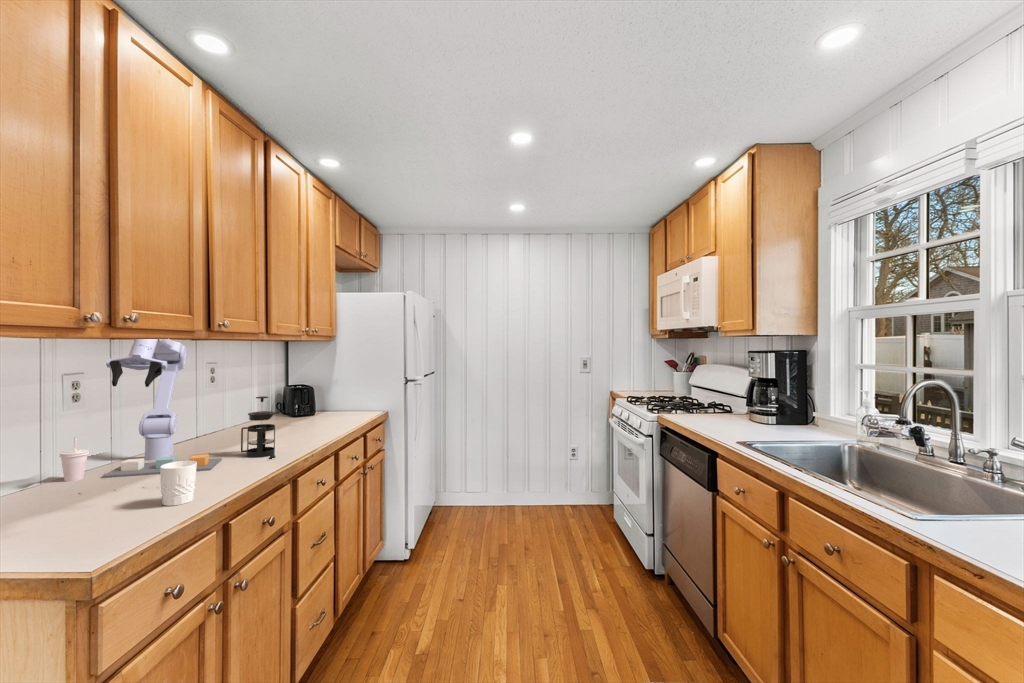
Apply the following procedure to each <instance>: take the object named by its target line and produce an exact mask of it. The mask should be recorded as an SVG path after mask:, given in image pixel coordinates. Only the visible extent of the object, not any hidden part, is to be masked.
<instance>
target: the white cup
mask: <svg viewBox="0 0 1024 683" xmlns="http://www.w3.org/2000/svg"><path fill="white" fill-rule="evenodd" d="M196 468H197V462H196V461H183V460H177V462H171V463H167V464H164V465H162V466H160V474H159V475H160V493H161V504H162V505H163V506H165V505H166V506H167V507H174V506H182V505H185V504H189V503H190V502H193V500H194V498H195V488H196V480H197V471H196Z"/></svg>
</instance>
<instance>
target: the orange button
mask: <svg viewBox="0 0 1024 683" xmlns="http://www.w3.org/2000/svg"><path fill="white" fill-rule="evenodd" d="M209 459H210V454H194V455H192V456H191V457H189V459H188V460H189V461H196V462H197V466H205V465H207V464H208V463H209Z"/></svg>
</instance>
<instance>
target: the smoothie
mask: <svg viewBox="0 0 1024 683" xmlns="http://www.w3.org/2000/svg"><path fill="white" fill-rule="evenodd" d="M77 437H78V436H74V437H73V449H70V450H64V451H61V452H59V458H60V459H61V466H62V467H61V468H62V473H63V480H64V482H74V481H75V482H77V481H80V480H84V478H85V477H84V476H85V471H86V466H87V461H88V455H89V454H90V450H89V449H87V448H82V449H81V448H80V449H77V444H78V443H77V441H78V440H77Z"/></svg>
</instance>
